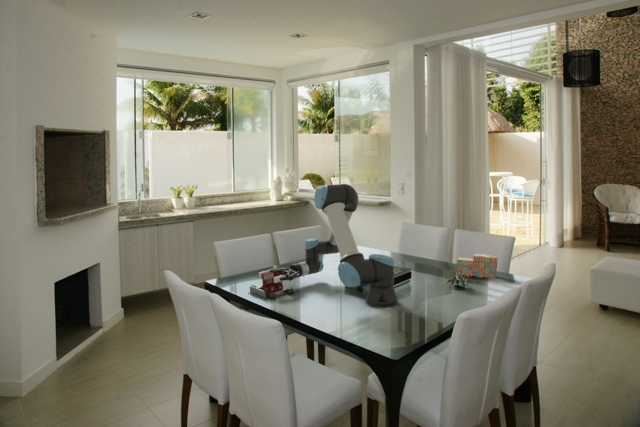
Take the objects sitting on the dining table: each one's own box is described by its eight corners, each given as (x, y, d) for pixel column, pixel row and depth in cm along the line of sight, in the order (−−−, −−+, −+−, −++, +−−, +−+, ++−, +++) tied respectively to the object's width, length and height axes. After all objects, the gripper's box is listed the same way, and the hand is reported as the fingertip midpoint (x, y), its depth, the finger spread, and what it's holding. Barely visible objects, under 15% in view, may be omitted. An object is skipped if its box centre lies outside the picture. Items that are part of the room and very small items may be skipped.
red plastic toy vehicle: (286, 289, 246) (285, 270, 245) (266, 295, 238) (266, 275, 237) (278, 287, 252) (277, 268, 250) (259, 292, 243) (258, 272, 242)
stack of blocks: (456, 275, 270) (456, 254, 269) (458, 272, 276) (458, 252, 274) (495, 279, 261) (496, 257, 259) (496, 276, 266) (497, 255, 265)
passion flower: (464, 298, 245) (471, 284, 237) (444, 294, 246) (450, 280, 238) (463, 281, 253) (470, 267, 245) (443, 278, 254) (449, 263, 246)
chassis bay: (295, 292, 243) (295, 286, 242) (267, 300, 231) (266, 293, 231) (273, 285, 258) (273, 278, 257) (245, 292, 246) (245, 285, 245)
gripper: (313, 281, 247) (281, 289, 233) (285, 272, 265) (253, 279, 252) (313, 267, 246) (280, 275, 232) (284, 259, 264) (253, 266, 251)
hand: (266, 277), depth 242 cm, fingers open, 13 cm apart
